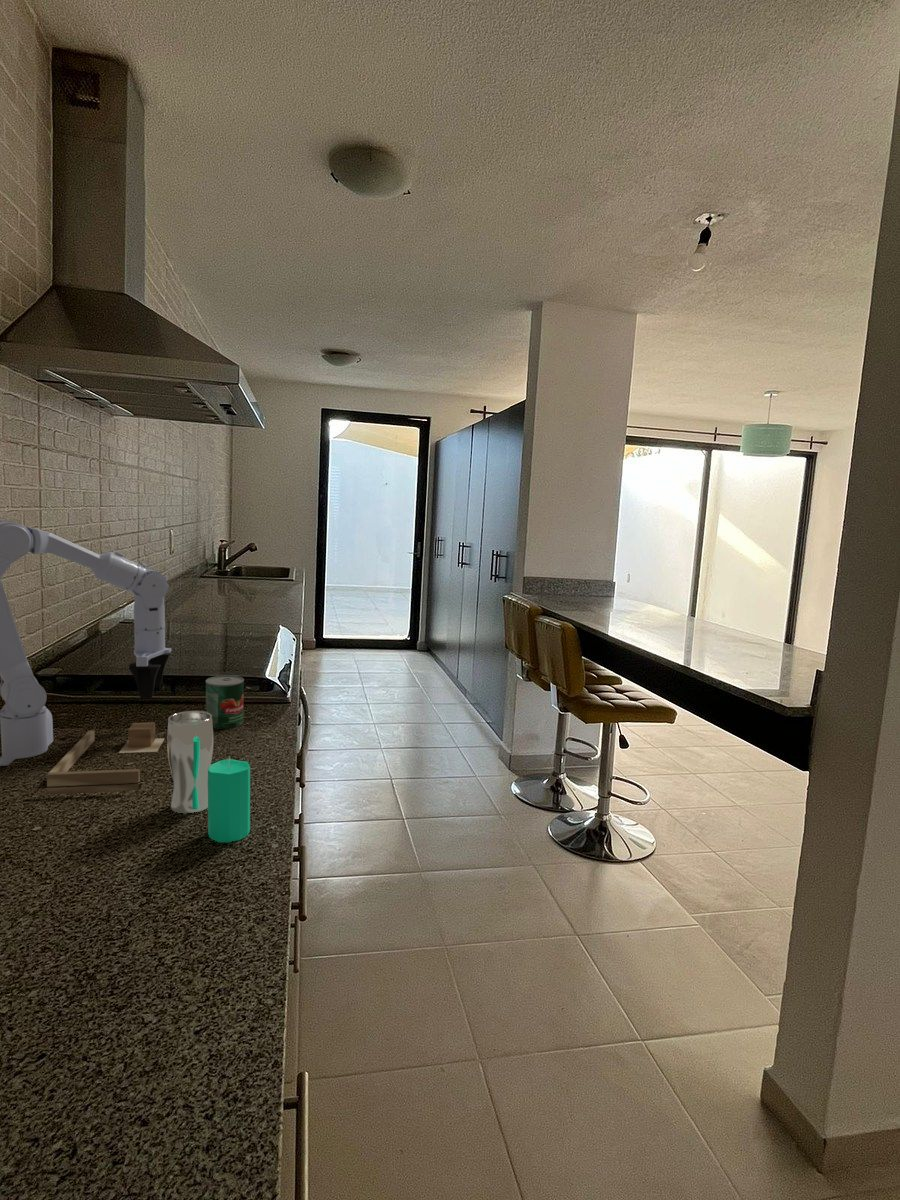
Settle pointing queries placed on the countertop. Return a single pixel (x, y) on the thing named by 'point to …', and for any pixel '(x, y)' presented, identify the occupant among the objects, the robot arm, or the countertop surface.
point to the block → (141, 734)
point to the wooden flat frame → (64, 778)
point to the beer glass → (190, 759)
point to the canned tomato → (225, 701)
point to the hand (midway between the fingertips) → (150, 692)
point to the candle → (228, 800)
